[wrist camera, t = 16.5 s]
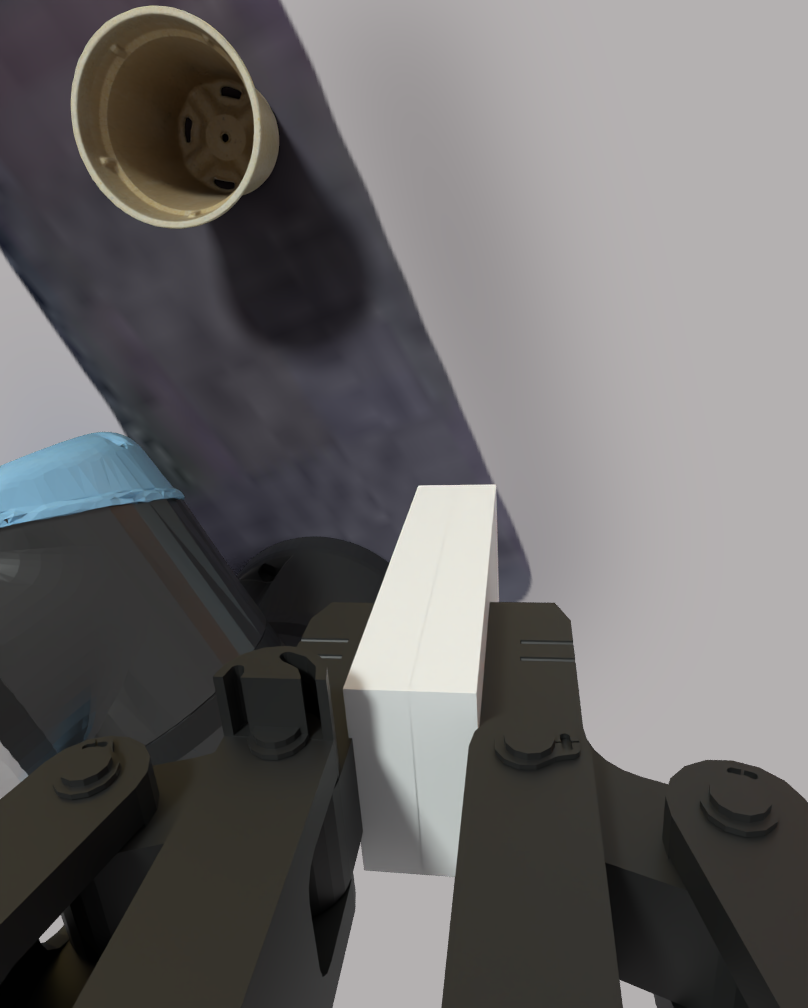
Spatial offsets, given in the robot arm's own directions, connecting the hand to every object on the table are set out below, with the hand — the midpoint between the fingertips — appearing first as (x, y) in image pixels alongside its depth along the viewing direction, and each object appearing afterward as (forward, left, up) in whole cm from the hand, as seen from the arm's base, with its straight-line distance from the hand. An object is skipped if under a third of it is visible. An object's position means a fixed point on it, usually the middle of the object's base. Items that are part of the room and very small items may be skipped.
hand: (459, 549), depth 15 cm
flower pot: (+5, +18, -33) cm, 38 cm away
